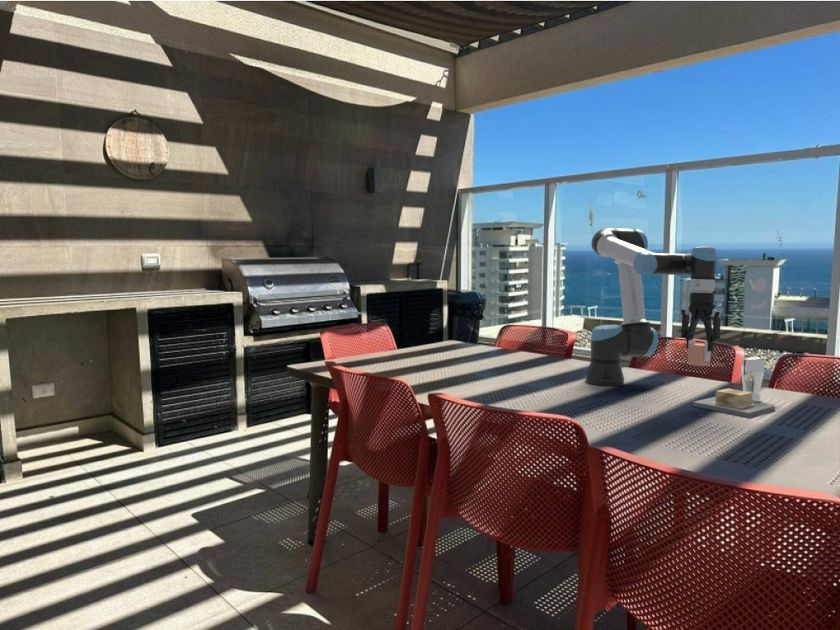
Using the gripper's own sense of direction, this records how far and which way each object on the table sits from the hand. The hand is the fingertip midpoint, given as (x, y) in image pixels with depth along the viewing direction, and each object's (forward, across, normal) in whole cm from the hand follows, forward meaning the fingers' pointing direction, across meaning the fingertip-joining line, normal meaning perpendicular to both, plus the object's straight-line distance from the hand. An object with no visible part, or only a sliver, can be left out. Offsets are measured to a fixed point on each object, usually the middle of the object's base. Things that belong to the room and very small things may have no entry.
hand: (699, 359), depth 196 cm
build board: (+15, +11, +3) cm, 19 cm away
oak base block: (+14, +11, +3) cm, 18 cm away
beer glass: (+15, +8, +22) cm, 28 cm away
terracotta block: (+2, 0, 0) cm, 2 cm away
